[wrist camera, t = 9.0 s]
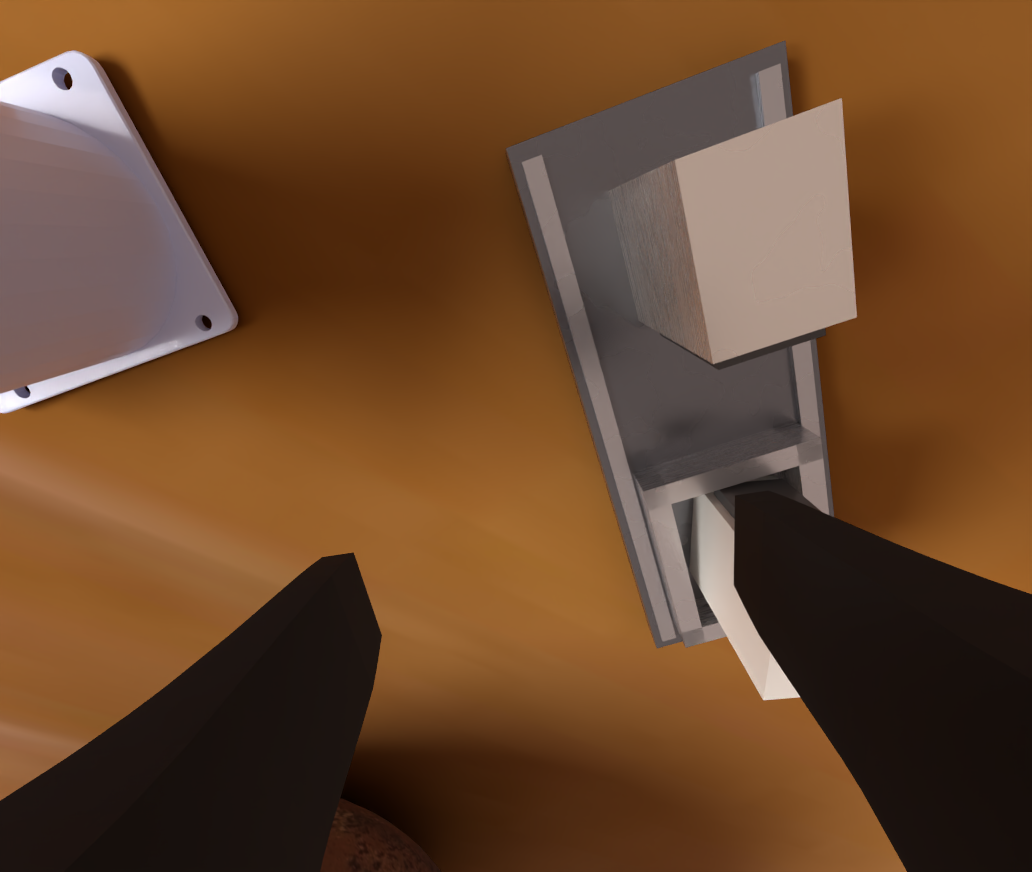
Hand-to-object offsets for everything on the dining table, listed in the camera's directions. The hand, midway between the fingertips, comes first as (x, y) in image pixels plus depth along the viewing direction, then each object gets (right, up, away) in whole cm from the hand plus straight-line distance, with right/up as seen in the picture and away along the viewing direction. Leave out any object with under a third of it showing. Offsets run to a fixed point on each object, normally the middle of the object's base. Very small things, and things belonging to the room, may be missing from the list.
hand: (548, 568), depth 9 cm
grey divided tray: (+6, +4, +9) cm, 11 cm away
